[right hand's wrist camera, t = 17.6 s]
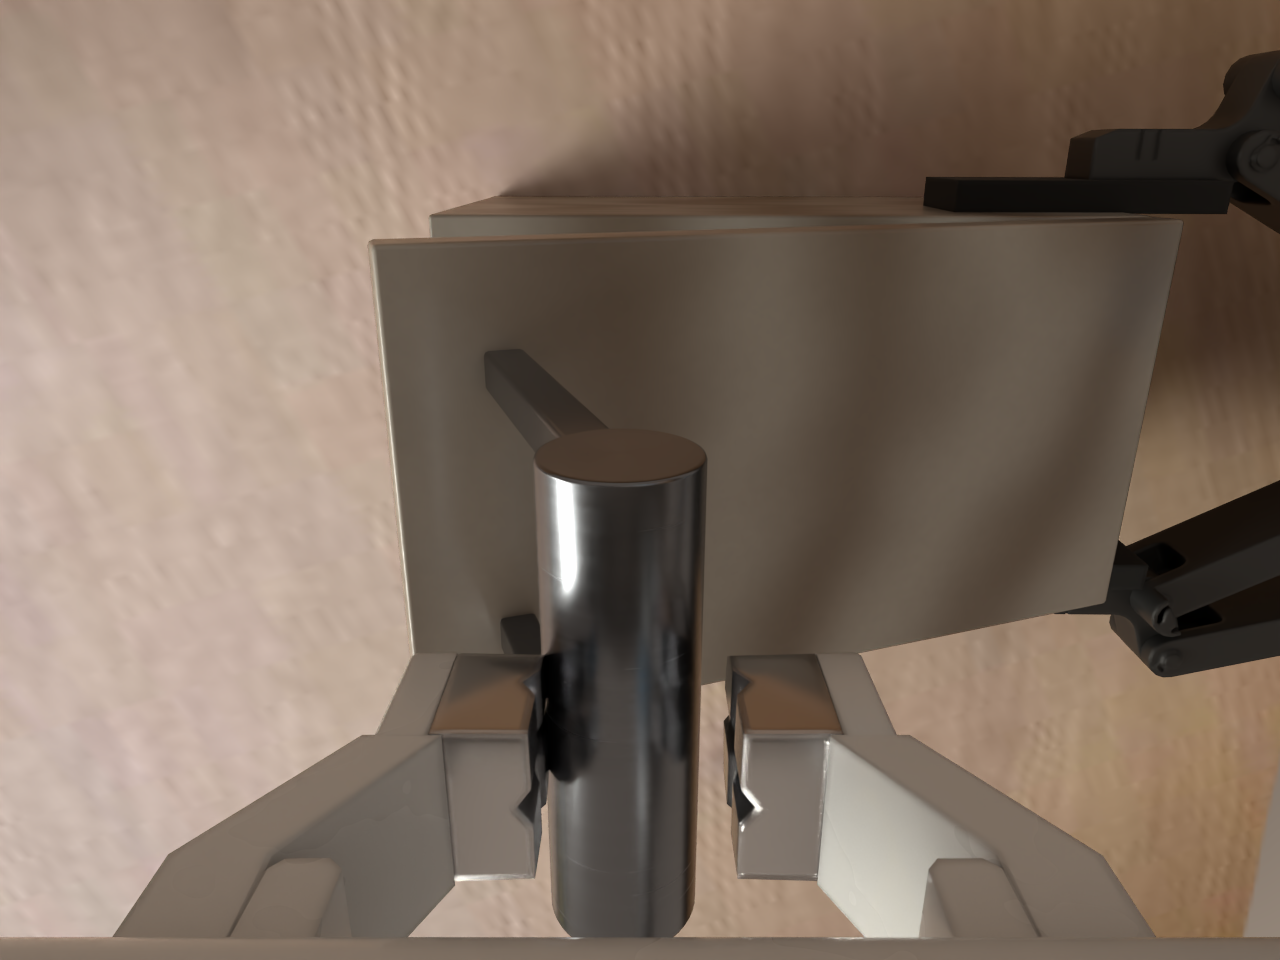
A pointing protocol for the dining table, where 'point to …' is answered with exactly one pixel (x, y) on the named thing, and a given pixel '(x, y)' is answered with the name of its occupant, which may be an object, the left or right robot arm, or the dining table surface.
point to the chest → (700, 214)
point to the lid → (746, 473)
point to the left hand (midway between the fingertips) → (917, 387)
